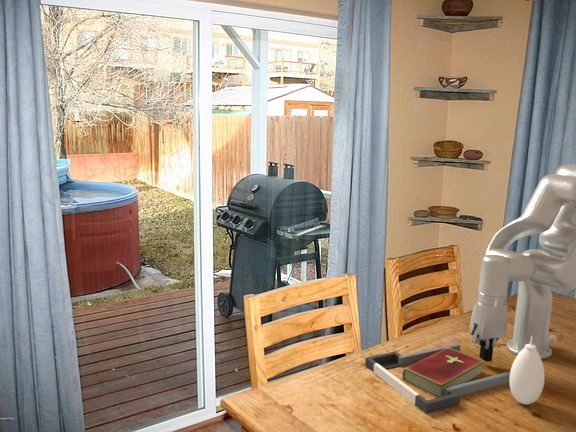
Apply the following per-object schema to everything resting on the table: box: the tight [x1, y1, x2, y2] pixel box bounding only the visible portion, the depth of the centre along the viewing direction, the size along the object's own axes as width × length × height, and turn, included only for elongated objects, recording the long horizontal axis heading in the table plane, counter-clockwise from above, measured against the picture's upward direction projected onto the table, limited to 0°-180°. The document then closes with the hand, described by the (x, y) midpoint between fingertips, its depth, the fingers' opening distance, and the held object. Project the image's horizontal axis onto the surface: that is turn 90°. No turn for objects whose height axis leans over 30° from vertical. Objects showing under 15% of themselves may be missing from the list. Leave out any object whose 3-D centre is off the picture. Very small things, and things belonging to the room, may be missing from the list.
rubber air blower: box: [508, 336, 545, 405], centre depth 132 cm, size 8×8×18 cm
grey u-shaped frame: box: [364, 343, 510, 414], centre depth 146 cm, size 31×26×2 cm
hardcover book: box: [402, 347, 486, 397], centre depth 146 cm, size 12×21×4 cm, turn 131°
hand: (485, 359), depth 153 cm, fingers closed
